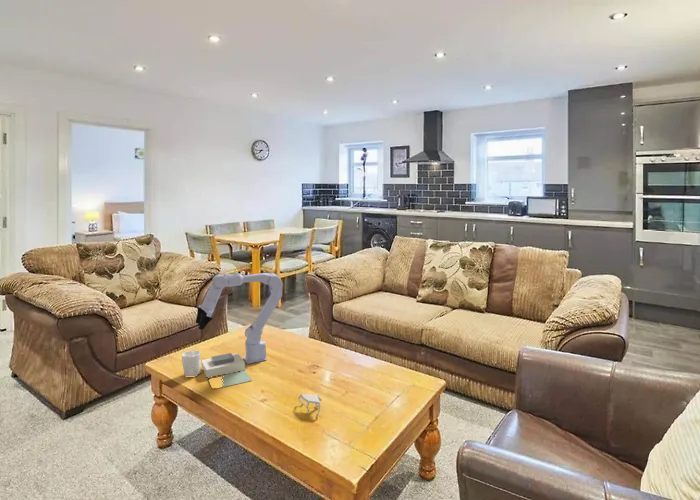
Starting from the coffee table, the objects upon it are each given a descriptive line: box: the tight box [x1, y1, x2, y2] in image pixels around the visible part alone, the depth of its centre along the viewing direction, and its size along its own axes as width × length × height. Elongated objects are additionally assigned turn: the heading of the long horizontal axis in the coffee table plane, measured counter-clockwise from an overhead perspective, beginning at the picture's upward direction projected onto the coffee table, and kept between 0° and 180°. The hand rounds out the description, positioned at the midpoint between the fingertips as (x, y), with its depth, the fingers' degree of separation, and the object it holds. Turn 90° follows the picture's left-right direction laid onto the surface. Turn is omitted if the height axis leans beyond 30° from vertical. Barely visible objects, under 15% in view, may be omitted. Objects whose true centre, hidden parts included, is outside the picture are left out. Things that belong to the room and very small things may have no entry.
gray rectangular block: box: [210, 352, 234, 366], centre depth 194 cm, size 9×6×2 cm, turn 119°
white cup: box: [181, 350, 202, 377], centre depth 188 cm, size 8×8×10 cm
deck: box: [201, 352, 246, 378], centre depth 194 cm, size 17×12×4 cm
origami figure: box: [298, 393, 323, 416], centre depth 160 cm, size 12×8×5 cm
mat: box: [221, 370, 253, 388], centre depth 184 cm, size 17×11×1 cm, turn 119°
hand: (199, 326), depth 193 cm, fingers open, 7 cm apart
